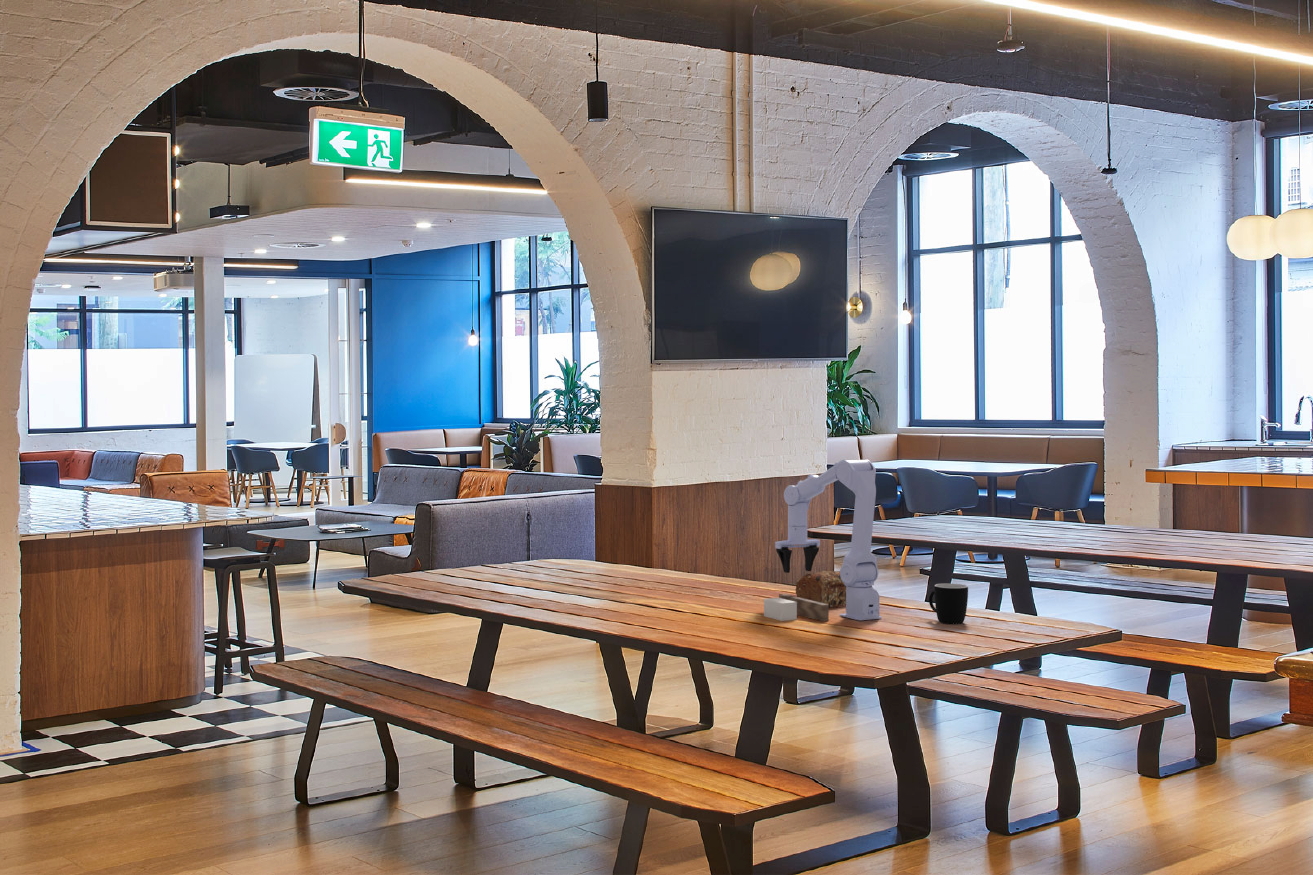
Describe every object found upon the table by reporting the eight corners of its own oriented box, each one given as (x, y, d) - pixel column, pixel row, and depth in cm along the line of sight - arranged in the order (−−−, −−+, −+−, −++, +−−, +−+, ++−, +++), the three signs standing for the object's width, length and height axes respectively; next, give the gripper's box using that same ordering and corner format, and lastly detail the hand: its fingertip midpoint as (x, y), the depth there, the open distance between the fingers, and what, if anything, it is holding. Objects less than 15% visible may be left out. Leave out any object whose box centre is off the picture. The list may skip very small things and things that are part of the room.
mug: (974, 623, 349) (975, 586, 349) (953, 626, 343) (953, 588, 343) (940, 617, 358) (940, 581, 358) (918, 620, 353) (919, 583, 353)
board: (828, 620, 352) (828, 604, 352) (822, 621, 351) (822, 604, 351) (784, 609, 372) (784, 593, 372) (778, 609, 371) (778, 594, 371)
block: (796, 620, 355) (796, 602, 355) (781, 621, 352) (781, 603, 352) (778, 615, 363) (778, 597, 363) (763, 616, 360) (763, 598, 360)
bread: (822, 609, 372) (822, 575, 372) (793, 605, 380) (793, 572, 379) (861, 603, 385) (861, 569, 385) (832, 599, 393) (832, 566, 392)
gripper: (810, 523, 385) (810, 568, 386) (769, 525, 379) (769, 571, 379) (823, 525, 379) (823, 571, 379) (782, 527, 373) (782, 574, 373)
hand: (797, 571), depth 379 cm, fingers open, 7 cm apart
